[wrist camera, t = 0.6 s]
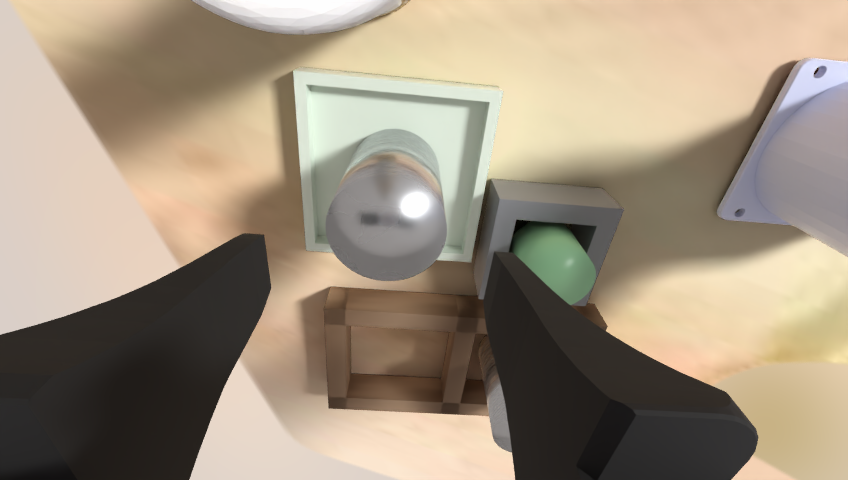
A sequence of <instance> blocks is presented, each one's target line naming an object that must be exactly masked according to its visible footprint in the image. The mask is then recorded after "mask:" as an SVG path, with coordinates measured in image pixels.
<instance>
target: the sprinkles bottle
mask: <svg viewBox="0 0 848 480" xmlns="http://www.w3.org/2000/svg"><path fill="white" fill-rule="evenodd" d="M192 1H193V2H195V3H196V4H198V5H200V6H201V7H203V8H205V9H207V10H209V11H211V12H213V13H215V14H216V15H219V16H221V17H223V18H225V19H228V20H230V21H232V22H235V23H238V24H240V25H243V26H246V27H249V28H253V29H258V30H262V31H266V32H271V33H280V34H289V35H310V34H319V33H328V32H336V31H340V30H344V29H347V28H351V27H355V26H357V25H360V24H362V23H365V22H367V21H369V20H371V19H373V18H375V17H377V16H382V15H386V14H388V13H391V12H395V11H397V10H399V9H400V8H402V7H403V6H404V5H406V4H407V3H408V2H409V1H410V0H192Z"/></svg>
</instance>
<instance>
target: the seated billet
mask: <svg viewBox="0 0 848 480" xmlns="http://www.w3.org/2000/svg"><path fill="white" fill-rule="evenodd" d="M478 355H479V360H480V366H481V372H482V377H483V383H484V389H485V395H486V400H487V406H488V412H489V417H490V423H491V429H492V434H493V439H494V441H495V442H496V444H497V445H498V446H499V447H501V448H502V449H504V450H506V451H509V452H512V448H511V440H510V433H509V426H508V420H507V413H506V406H505V401H504V396H503V391H502V387H501V383H500V380H499V376H498V372H497V368H496V364H495V361H494V357H493V353H492V349H491V345H490V341H489V338H488V335H486V336H485V337H484V338H483V340H482V341H481V343H480V345H479V349H478Z"/></svg>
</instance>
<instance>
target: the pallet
mask: <svg viewBox="0 0 848 480" xmlns="http://www.w3.org/2000/svg"><path fill="white" fill-rule="evenodd" d="M571 306H572V307H573V308H574V309H575V310H577V311H578V312H579V313H581V314H582V315H583V316H585V317H586V318H587V319H589V320H590V321H592V322H593V323H594V324H596V325H597V326H599V327H600V328H602V329H603V330H605V331H606V329H607V325H606V323H605V321H604V320H603V318H602V316H601V315H600V313H599V311H598V310H597V308H596V306H595V304H586V306H574V305H571ZM324 320H325V341H326V362H327V382H328V403H329V408H333V409H354V410H374V411H395V412H416V413H437V414H458V415H479V416H489V412H488V406H487V400H486V395H485V389H484V383H483V381H479V380H466V375H467V371H468V366H469V362H470V357H471V353H472V348H473V344H474V339H475V335H476V333H477V334H487V329H486V323H485V315H484V305H483V299H478V296H463V295H448V294H433V293H418V292H403V291H387V290H372V289H357V288H342V287H331V288H330V291H329V294H328V297H327V300H326V303H325V307H324ZM351 326H361V327H378V328H394V329H411V330H427V331H444V332H449V337H448V342H447V348H446V354H445V360H444V365H443V371H442V377H441V378H423V377H405V376H386V375H367V374H351Z"/></svg>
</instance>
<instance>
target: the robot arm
mask: <svg viewBox="0 0 848 480" xmlns="http://www.w3.org/2000/svg"><path fill="white" fill-rule="evenodd" d="M818 67H819V70H818V72H817V73H816V74H815V75H814V71H815V70H816V69H817V68H818ZM738 209H739V211H738V212H737V213H735V212H736V211H737V210H738ZM717 215H718V216H719V217H721V218H722V219H724V220H733V221H745V222H758V223H770V224H782V225H793V226H795V227H797V228H798V229H800V230H802V231H804V232H805V233H807V234H809V235H811V236H812V237H814V238H816V239H817V240H819V241H821V242H823V243H824V244H826V245H828V246H830V247H831V248H833V249H835V250H836V251H838V252H840V253H842V254H843V255H845V256H847V257H848V62H844V61H835V60H826V59H817V58H804V59H802V60H800V61H799V62H798V63H797V64H796V65H795V66H794V67H793V69H792V71H791V72H790V74H789V76H788V78H787V80H786V82H785V84H784V86H783V87H782V89H781V91H780V93H779V95H778V97H777V99H776V100H775V102H774V104H773V106H772V108H771V110H770V112H769V114H768V115H767V117H766V119H765V121H764V123H763V125H762V127H761V129H760V130H759V132H758V134H757V136H756V138H755V140H754V142H753V144H752V145H751V147H750V149H749V151H748V153H747V155H746V157H745V158H744V160H743V162H742V164H741V166H740V168H739V170H738V172H737V173H736V175H735V177H734V179H733V181H732V183H731V185H730V187H729V188H728V190H727V192H726V194H725V196H724V198H723V200H722V202H721V203H720V205H719V207H718V209H717ZM270 290H271V283H270V276H269V268H268V261H267V253H266V246H265V238H264V235H260V234H246V233H244V234H241V235H239V236H237V237H235V238H233V239H232V240H230V241H228V242H226V243H224V244H223V245H221V246H219V247H217V248H216V249H214V250H212V251H210V252H209V253H207V254H205V255H203V256H202V257H200V258H198V259H196V260H194V261H193V262H191V263H189V264H187V265H185V266H183V267H181V268H179V269H178V270H176V271H174V272H172V273H170V274H168V275H166V276H164V277H162V278H160V279H158V280H156V281H154V282H152V283H150V284H148V285H145V286H143V287H141V288H139V289H136V290H134V291H132V292H129V293H127V294H125V295H122V296H120V297H117V298H115V299H112V300H110V301H107V302H104V303H101V304H98V305H96V306H93V307H90V308H87V309H84V310H82V311H79V312H76V313H73V314H70V315H67V316H64V317H61V318H58V319H55V320H51V321H48V322H45V323H41V324H38V325H35V326H31V327H27V328H24V329H20V330H16V331H13V332H9V333H5V334H2V335H0V480H189V479H190V476H191V473H192V470H193V467H194V464H195V461H196V458H197V455H198V453H199V450H200V447H201V445H202V442H203V439H204V437H205V434H206V431H207V429H208V426H209V423H210V420H211V418H212V415H213V413H214V410H215V408H216V405H217V403H218V400H219V398H220V395H221V393H222V391H223V388H224V386H225V384H226V382H227V380H228V378H229V376H230V374H231V372H232V370H233V368H234V366H235V364H236V362H237V361H238V359H239V357H240V355H241V353H242V351H243V349H244V348H245V346H246V344H247V342H248V340H249V338H250V336H251V334H252V332H253V331H254V329H255V327H256V325H257V323H258V321H259V319H260V317H261V315H262V312H263V310H264V307H265V304H266V301H267V299H268V296H269V293H270ZM483 305H484V315H485V323H486V329H487V334H488V338H489V341H490V345H491V349H492V353H493V357H494V361H495V364H496V368H497V372H498V376H499V380H500V383H501V387H502V391H503V396H504V401H505V406H506V413H507V420H508V426H509V433H510V440H511V448H512V455H513V463H514V471H515V480H731V479H732V478H733V477H734V476H735V475H736V474H737V473H738V471H739V470H740V469H741V468H742V467H743V466H744V465H745V464H746V463H747V462H748V461H749V459H750V458H751V456H752V455H753V453H754V452H755V449H756V446H757V441H758V435H757V431H756V428H755V427H754V426H753V425H752V424H751V422H750V421H749V420H748V418H747V417H746V416H745V415H744V413H743V412H742V411H741V410H740V409H739V407H738V406H737V405H736V404H735V402H734V401H733V400H732V399H731V397H730V396H729V395H728V394H727V393H726V392H725V391H722V390H720V389H718V388H715V387H713V386H711V385H708V384H706V383H704V382H701V381H699V380H697V379H694V378H692V377H690V376H687V375H685V374H683V373H681V372H678V371H676V370H674V369H672V368H670V367H668V366H666V365H664V364H662V363H660V362H658V361H656V360H654V359H652V358H650V357H649V356H647V355H645V354H643V353H641V352H639V351H637V350H636V349H634V348H632V347H631V346H629V345H627V344H626V343H624V342H622V341H621V340H619V339H617V338H616V337H614V336H612V335H611V334H609V333H608V332H606V331H605V330H603V329H602V328H600V327H599V326H597V325H596V324H594V323H593V322H592V321H590V320H589V319H587V318H586V317H585V316H583V315H582V314H581V313H579V312H578V311H577V310H575V309H574V308H573V307H572V306H571V305H569V304H568V303H567V302H566V301H564V300H563V299H562V298H561V297H560V296H559V295H557V294H556V293H555V292H554V291H553V290H552V289H551V288H550V287H549V286H547V285H546V284H545V283H544V282H543V281H542V280H541V279H540V278H539V277H538V276H537V275H536V274H535V273H534V272H533V271H532V270H531V269H530V268H529V267H528V266H527V265H526V264H525V263H524V262H523V261H521V260H520V259H519V258H518V257H517V256H516V255H515V254H514V253H510V252H496V251H494V254H493V259H492V263H491V268H490V272H489V277H488V281H487V286H486V290H485V295H484V299H483Z"/></svg>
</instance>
